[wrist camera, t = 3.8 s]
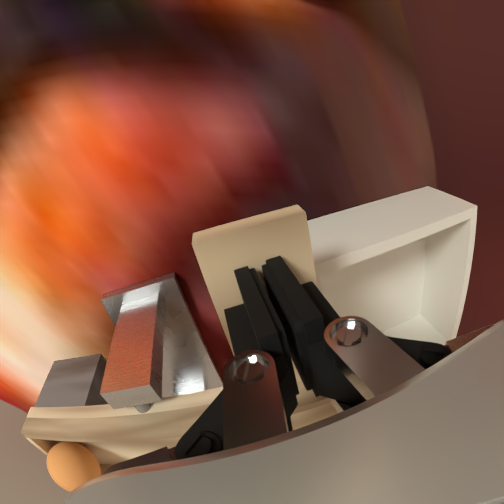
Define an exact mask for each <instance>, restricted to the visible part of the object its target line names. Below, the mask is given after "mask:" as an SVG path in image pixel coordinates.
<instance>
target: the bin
mask: <svg viewBox="0 0 504 504" xmlns="http://www.w3.org/2000/svg"><path fill="white" fill-rule="evenodd" d="M476 219H477V206H476V205H474V204H472V203H469V202H467V201H465V200H462V199H460V198H457V197H455V196H452V195H450V194H447V193H445V192H442V191H440V190H437V189H434V188H432V187H429V186H427V187H423V188H420V189H416V190H413V191H409V192H406V193H402V194H398V195H395V196H391V197H388V198H384V199H381V200H377V201H374V202H370V203H367V204H363V205H360V206H357V207H353V208H350V209H346V210H343V211H339V212H336V213H332V214H329V215H326V216H322V217H319V218H315V219H312V220H309V221H307V223H308V229H309V235H310V241H311V247H312V253H313V260H314V266H315V273H316V280H317V287H318V289H319V291H320V292H321V293H322V294H323V296H324V297H325V298H326V300H327V301H328V302H329V303H330V305H331V306H332V307H333V309H334V310H335V311H336V312H337V314H338V315H339V316H340V318H341V317H345V316H358V317H361V318H364V319H366V320H367V321H369V322H370V323H371V324H373V325H374V326H375V327H376V328H377V329H378V330H380V331H381V332H382V333H383V334H384V335H386V336H388V335H389V337H395V338H402V339H410V340H418V341H426V342H434V343H439V344H442V345H445V344H446V341H449V340H452V339H454V338H456V335H457V331H458V327H459V324H460V320H461V316H462V311H463V307H464V302H465V298H466V293H467V288H468V282H469V277H470V271H471V264H472V257H473V250H474V241H475V231H476Z"/></svg>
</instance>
